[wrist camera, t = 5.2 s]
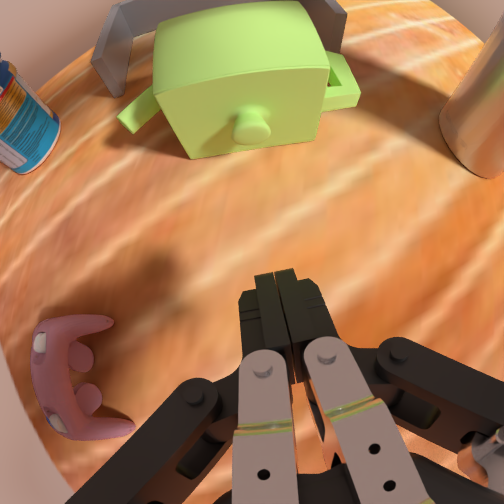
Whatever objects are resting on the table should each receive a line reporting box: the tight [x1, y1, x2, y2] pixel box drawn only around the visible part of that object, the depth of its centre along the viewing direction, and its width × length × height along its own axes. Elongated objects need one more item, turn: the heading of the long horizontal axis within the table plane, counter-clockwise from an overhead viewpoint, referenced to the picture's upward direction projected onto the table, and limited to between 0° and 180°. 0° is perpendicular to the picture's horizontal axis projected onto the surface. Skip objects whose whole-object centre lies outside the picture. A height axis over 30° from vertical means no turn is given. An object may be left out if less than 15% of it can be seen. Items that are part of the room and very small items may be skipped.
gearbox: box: [116, 1, 361, 159], centre depth 19 cm, size 18×10×10 cm, turn 98°
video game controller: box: [30, 314, 136, 441], centre depth 17 cm, size 10×5×7 cm, turn 10°
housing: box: [91, 0, 347, 98], centre depth 23 cm, size 24×14×7 cm, turn 100°
